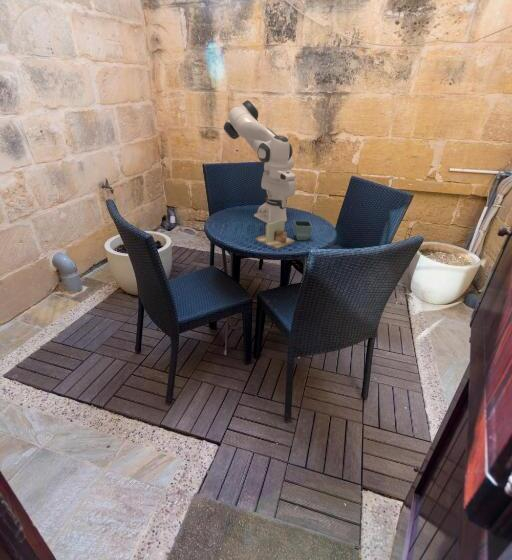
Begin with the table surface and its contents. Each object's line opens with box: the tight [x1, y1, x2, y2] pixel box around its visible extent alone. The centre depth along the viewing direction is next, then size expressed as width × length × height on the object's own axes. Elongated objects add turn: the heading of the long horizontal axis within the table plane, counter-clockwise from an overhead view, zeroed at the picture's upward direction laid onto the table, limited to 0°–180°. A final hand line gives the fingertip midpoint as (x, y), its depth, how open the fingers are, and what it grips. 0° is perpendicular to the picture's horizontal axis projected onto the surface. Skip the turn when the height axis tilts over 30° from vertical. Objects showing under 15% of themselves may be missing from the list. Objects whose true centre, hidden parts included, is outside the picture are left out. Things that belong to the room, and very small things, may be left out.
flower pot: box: [293, 220, 313, 241], centre depth 175 cm, size 9×9×9 cm
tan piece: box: [255, 224, 295, 250], centre depth 171 cm, size 16×14×7 cm
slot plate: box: [265, 219, 286, 243], centre depth 170 cm, size 2×12×10 cm, turn 134°
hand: (276, 201), depth 161 cm, fingers open, 8 cm apart
